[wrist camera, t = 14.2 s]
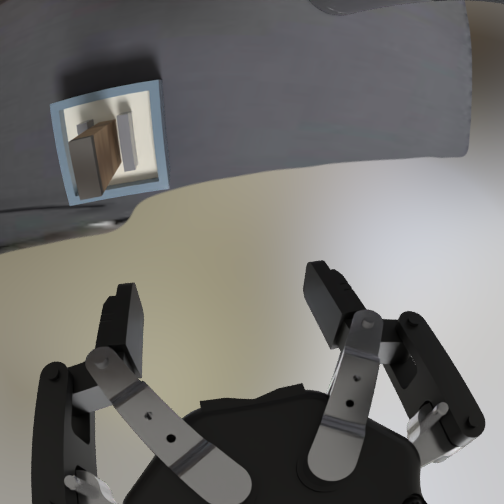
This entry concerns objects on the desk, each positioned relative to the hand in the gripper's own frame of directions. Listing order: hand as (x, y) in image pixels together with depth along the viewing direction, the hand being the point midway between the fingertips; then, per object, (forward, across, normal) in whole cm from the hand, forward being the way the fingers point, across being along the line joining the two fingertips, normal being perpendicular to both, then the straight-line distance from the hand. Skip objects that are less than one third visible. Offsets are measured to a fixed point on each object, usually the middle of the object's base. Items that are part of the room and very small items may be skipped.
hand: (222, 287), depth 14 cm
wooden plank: (+22, +10, -3) cm, 24 cm away
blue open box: (+27, +10, -3) cm, 29 cm away
